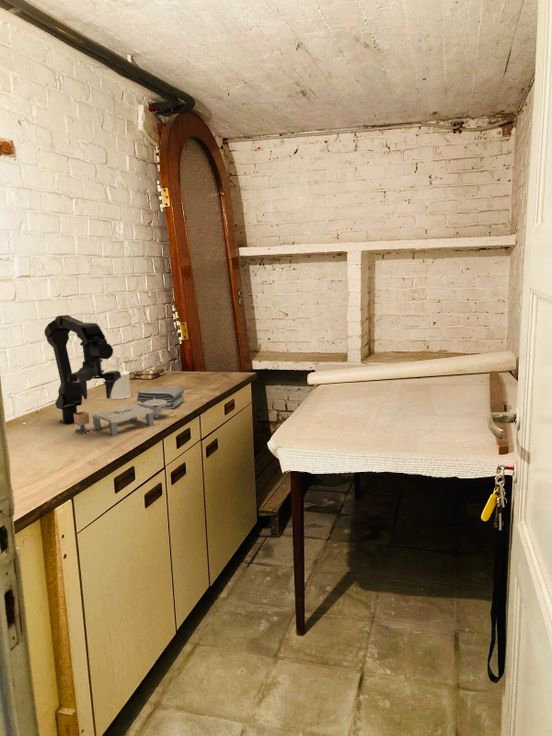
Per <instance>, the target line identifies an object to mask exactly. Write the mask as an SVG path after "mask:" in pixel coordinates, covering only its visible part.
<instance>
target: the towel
mask: <svg viewBox="0 0 552 736" xmlns="http://www.w3.org/2000/svg"><path fill="white" fill-rule="evenodd" d="M184 392H185V390H184V389H183V388H182V387H180V386H177V385H175V386H173V385H172V386H165V387H157V388H154V387H153V388H152V387H151V388H147V389H146V390H144V391H138V392H137V396H136V401H138V402H139V403H138V404H137V405H138V406H141V407H143V403H144V402H145V401H148V400H154V398H155V399H161V400H162V399H163V400H166V401H167V405H166V406H164V407H161V410H172V409H174V408H176V407H177V406H178V405H180V404H181V403H182V402H184V400H185V398H184V395H183V394H184ZM144 408H145V407H144ZM148 409H149V408H148Z"/></svg>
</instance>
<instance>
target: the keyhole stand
mask: <svg viewBox="0 0 552 736" xmlns="http://www.w3.org/2000/svg"><path fill="white" fill-rule="evenodd" d="M112 415H113V416H112ZM144 415H145V420H146V426H148V425H151V426H154V425H155V422H154V421H155V420H154V419H155V418H153V410H151V409H148V408H144V407H141V406H138V404H134V403H132V404H129V405H128V404H127V405H124V406H120V407H115V408H110V409H107V410H102V411H99V412H94V413H92V422H93V423H92V425H93V429H94V428H95V429H94V430H96V429H97V430H100V429H99V428H101V429H102V423H101V420H102V421H105V422H108V428H109V429H108V430H109V431H108V432H109V435H110V436H111V435H112V437H113V435H114V436H117V435H118V424H117V423H118V422H120V421H125V420H129V419H131V420H130V421H136V420H135V419H137V420H138V417H140V416H144ZM153 424H154V425H153Z"/></svg>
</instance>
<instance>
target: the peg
mask: <svg viewBox="0 0 552 736" xmlns="http://www.w3.org/2000/svg"><path fill="white" fill-rule="evenodd" d="M73 424H74V425H77V426H79V428H78V429H75V430H74V431H75V432H77V433H79V434H78V435H80V434H82V435H84V434H83V433H85V434H88V433H87V432H89V433H91V429H90V428H87V427H86V426H85V425H88V424H89V425H90V415H89V412H86V411H84V410H83V411H77V413H74V423H73ZM77 433H76V434H77Z"/></svg>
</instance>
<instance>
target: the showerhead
mask: <svg viewBox="0 0 552 736" xmlns="http://www.w3.org/2000/svg"><path fill="white" fill-rule="evenodd" d="M166 405H167V401H166V400H163V399H162V400H161V399H155V398H154V400H148V401H145V402H144V403H143V407H145V408H149V409H151V410H153V417H155V418H154V419H157V417H158V418H159V416H160V415H159V414H161V413H162V410H163V409H161V407H164V406H166Z"/></svg>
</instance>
